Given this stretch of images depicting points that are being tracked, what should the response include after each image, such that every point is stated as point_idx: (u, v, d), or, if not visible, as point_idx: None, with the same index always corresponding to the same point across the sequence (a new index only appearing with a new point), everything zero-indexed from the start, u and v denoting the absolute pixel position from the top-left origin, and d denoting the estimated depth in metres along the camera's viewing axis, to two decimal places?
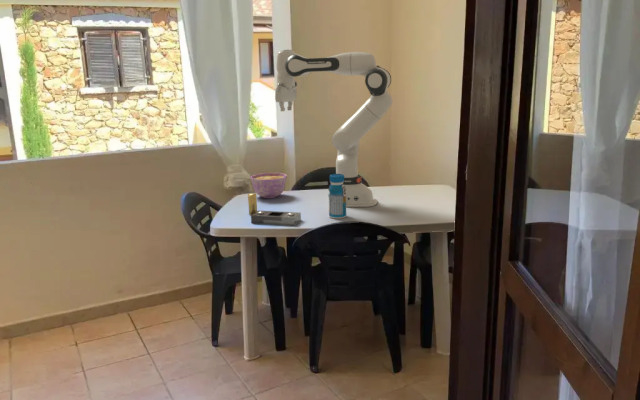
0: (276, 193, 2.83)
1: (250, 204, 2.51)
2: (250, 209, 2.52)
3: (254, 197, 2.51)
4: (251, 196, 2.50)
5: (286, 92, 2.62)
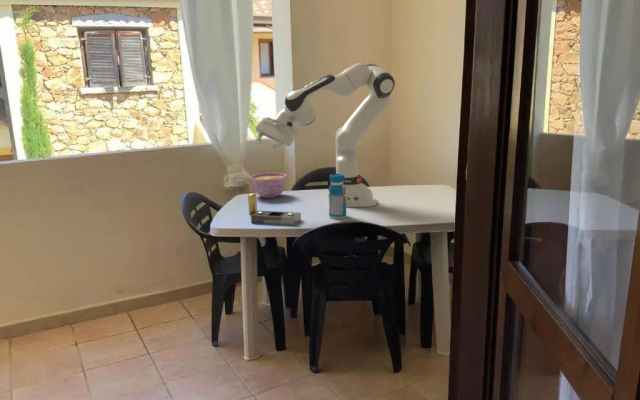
0: (276, 193, 2.83)
1: (250, 204, 2.51)
2: (250, 208, 2.52)
3: (254, 197, 2.51)
4: (251, 196, 2.50)
5: (271, 126, 2.49)
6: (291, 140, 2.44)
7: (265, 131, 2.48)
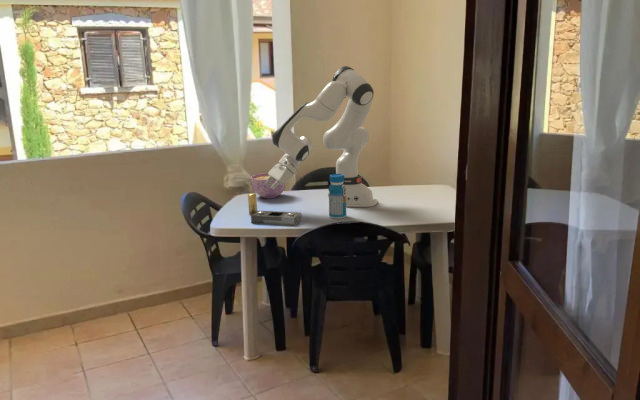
0: (276, 193, 2.83)
1: (250, 204, 2.51)
2: (250, 208, 2.52)
3: (254, 197, 2.51)
4: (251, 196, 2.50)
5: (277, 169, 2.56)
6: (284, 178, 2.45)
7: (271, 174, 2.56)
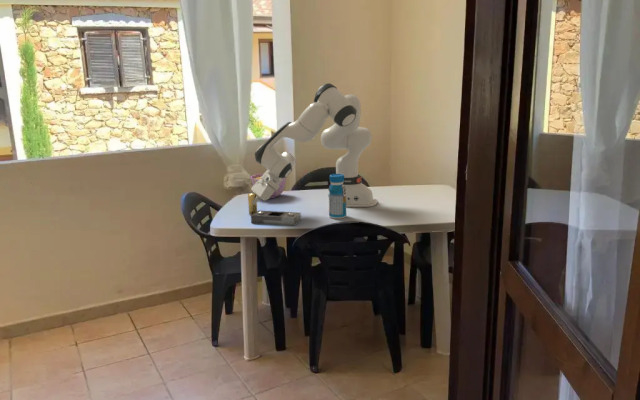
0: (276, 193, 2.83)
1: (250, 204, 2.51)
2: (250, 208, 2.52)
3: (254, 197, 2.51)
4: (251, 196, 2.50)
5: (259, 184, 2.55)
6: (266, 194, 2.44)
7: (254, 190, 2.56)
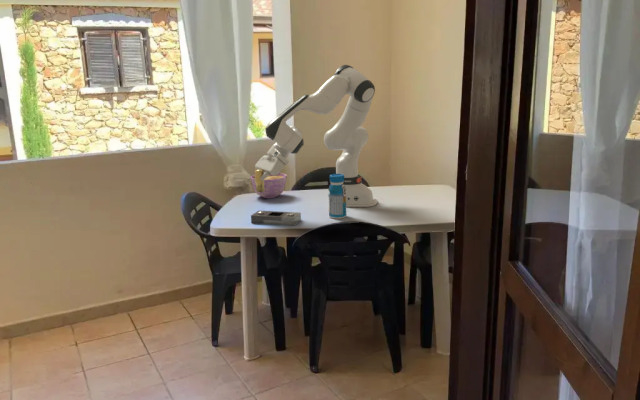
0: (276, 193, 2.83)
1: (258, 180, 2.42)
2: (258, 185, 2.42)
3: (262, 173, 2.42)
4: (259, 172, 2.41)
5: (265, 160, 2.46)
6: (276, 169, 2.36)
7: (259, 166, 2.46)
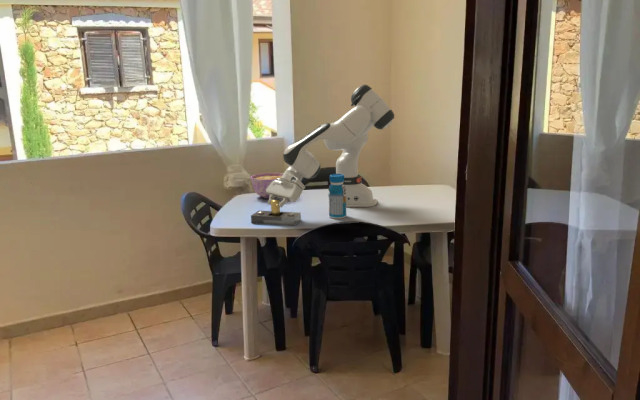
0: None
1: (275, 211, 2.37)
2: None
3: (278, 203, 2.37)
4: (276, 202, 2.36)
5: (279, 186, 2.42)
6: (296, 194, 2.33)
7: (273, 192, 2.41)
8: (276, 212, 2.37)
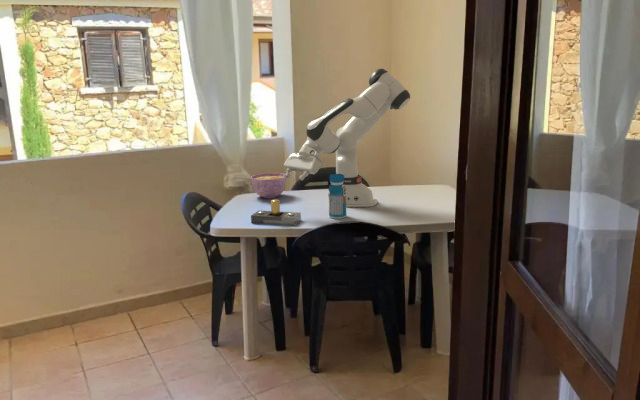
0: (276, 193, 2.83)
1: (275, 211, 2.37)
2: None
3: (278, 203, 2.38)
4: (276, 202, 2.36)
5: (297, 159, 2.47)
6: (316, 167, 2.38)
7: (292, 165, 2.46)
8: (276, 212, 2.37)
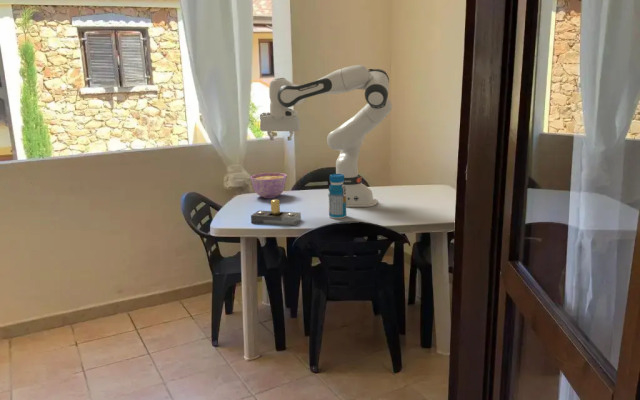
0: (276, 193, 2.83)
1: (275, 211, 2.37)
2: None
3: (278, 203, 2.38)
4: (276, 202, 2.36)
5: (273, 121, 2.55)
6: (298, 125, 2.53)
7: (271, 129, 2.56)
8: (276, 212, 2.37)
